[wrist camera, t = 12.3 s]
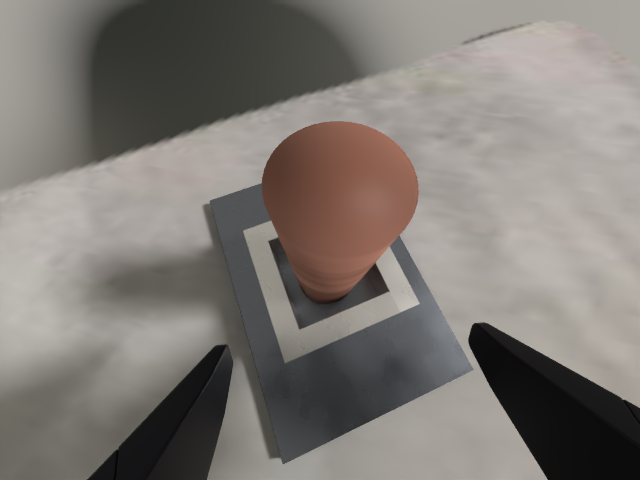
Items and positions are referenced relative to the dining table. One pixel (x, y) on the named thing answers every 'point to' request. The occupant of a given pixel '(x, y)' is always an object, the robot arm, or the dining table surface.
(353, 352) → the dock
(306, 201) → the peg
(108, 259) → the dining table surface
